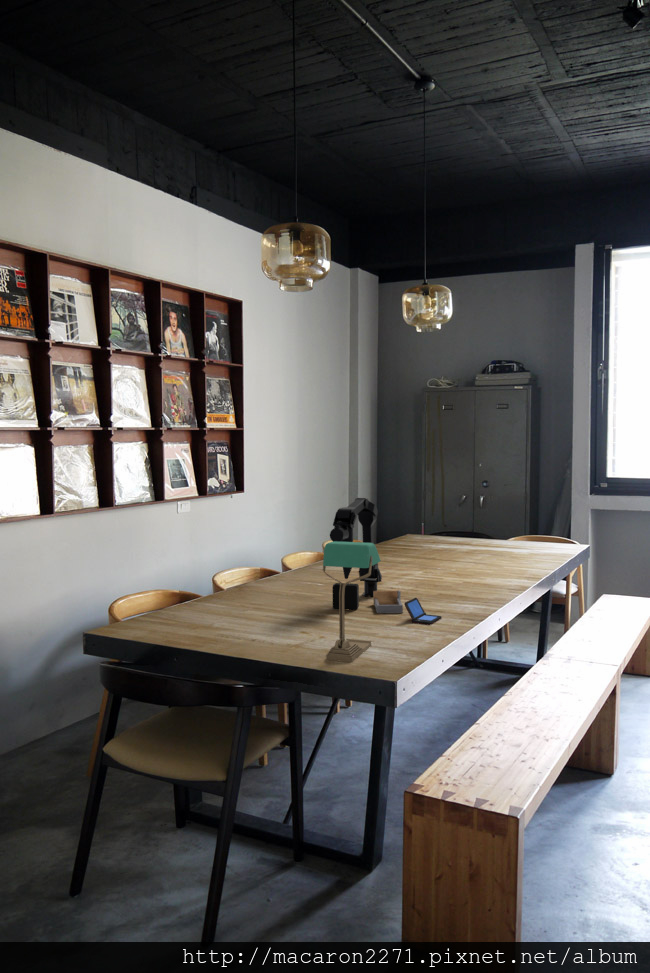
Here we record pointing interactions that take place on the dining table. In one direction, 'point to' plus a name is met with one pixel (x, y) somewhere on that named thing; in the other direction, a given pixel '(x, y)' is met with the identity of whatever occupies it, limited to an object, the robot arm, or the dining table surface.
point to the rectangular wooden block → (386, 596)
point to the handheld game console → (419, 613)
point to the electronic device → (346, 596)
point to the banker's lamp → (344, 557)
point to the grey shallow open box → (389, 607)
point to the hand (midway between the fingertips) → (346, 578)
